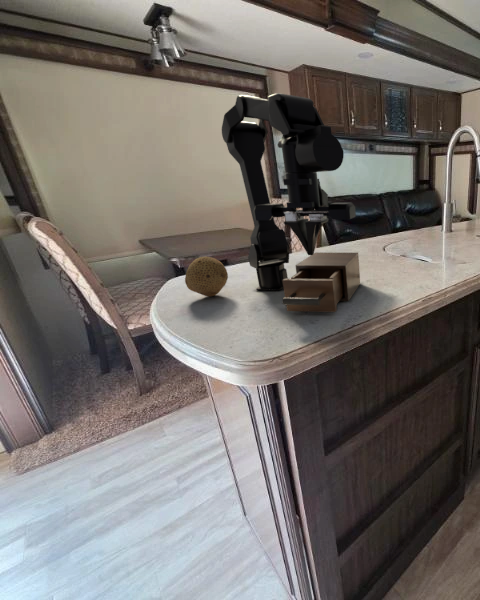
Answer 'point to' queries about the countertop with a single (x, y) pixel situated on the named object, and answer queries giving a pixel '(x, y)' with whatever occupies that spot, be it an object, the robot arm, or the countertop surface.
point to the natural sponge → (206, 276)
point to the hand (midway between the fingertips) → (311, 254)
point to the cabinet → (336, 261)
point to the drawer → (314, 290)
